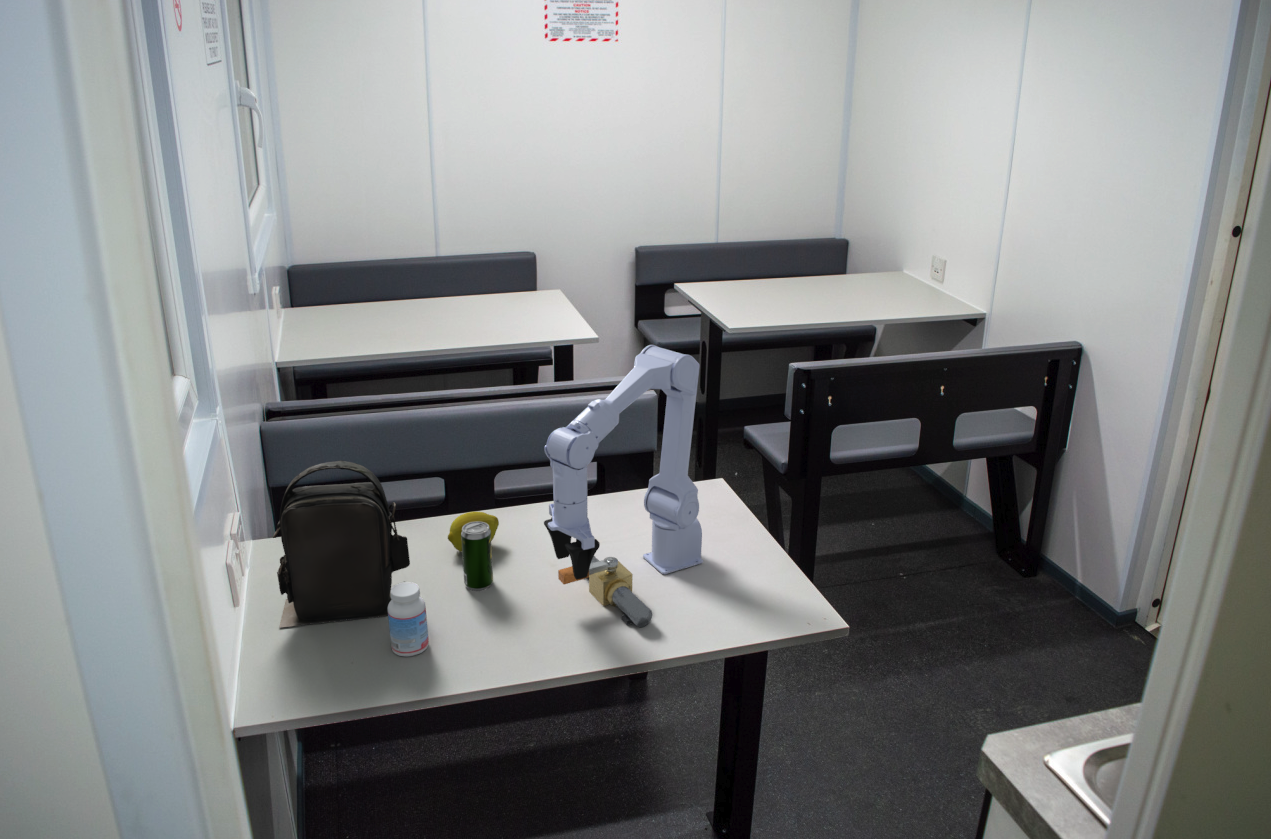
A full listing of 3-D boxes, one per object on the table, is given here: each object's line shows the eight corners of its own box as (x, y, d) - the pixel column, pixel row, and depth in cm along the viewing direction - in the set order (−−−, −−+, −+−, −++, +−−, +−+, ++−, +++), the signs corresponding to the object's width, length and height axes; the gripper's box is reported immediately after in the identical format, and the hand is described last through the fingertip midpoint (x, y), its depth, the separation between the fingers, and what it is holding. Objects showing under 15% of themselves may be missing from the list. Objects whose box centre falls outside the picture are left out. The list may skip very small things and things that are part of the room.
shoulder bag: (414, 586, 167) (401, 448, 157) (414, 613, 159) (401, 470, 149) (286, 600, 162) (264, 459, 152) (279, 629, 154) (256, 481, 144)
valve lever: (613, 564, 165) (613, 554, 164) (620, 571, 163) (620, 560, 162) (557, 580, 160) (557, 569, 159) (564, 587, 158) (564, 576, 157)
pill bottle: (431, 653, 148) (426, 595, 144) (393, 661, 146) (387, 602, 142) (426, 633, 153) (421, 576, 149) (389, 640, 151) (383, 582, 147)
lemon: (453, 564, 175) (451, 527, 172) (442, 546, 181) (440, 511, 178) (506, 552, 179) (505, 516, 176) (494, 535, 186) (492, 500, 183)
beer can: (471, 595, 164) (467, 537, 160) (459, 582, 169) (456, 525, 164) (498, 586, 167) (495, 529, 163) (486, 574, 171) (483, 518, 167)
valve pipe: (594, 563, 176) (594, 539, 175) (658, 624, 157) (658, 598, 155) (567, 570, 174) (567, 546, 172) (628, 634, 154) (628, 607, 152)
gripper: (532, 485, 155) (534, 553, 160) (566, 519, 143) (567, 593, 148) (569, 477, 158) (570, 544, 163) (605, 510, 146) (605, 582, 151)
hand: (571, 567), depth 156 cm, fingers open, 7 cm apart
